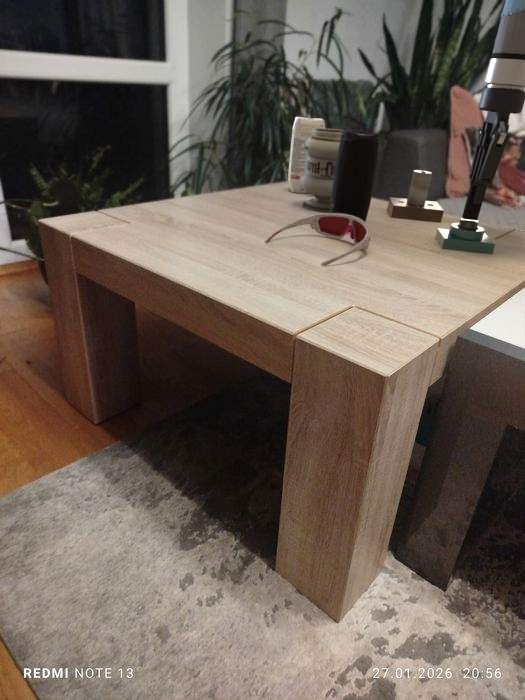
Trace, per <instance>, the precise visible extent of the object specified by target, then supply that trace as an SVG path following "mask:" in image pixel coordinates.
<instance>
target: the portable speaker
mask: <svg viewBox="0 0 525 700" xmlns="http://www.w3.org/2000/svg"><path fill="white" fill-rule="evenodd" d="M342 130H343V131H342V135H341V140H340V144H339V149H338V153H337V159H336V165H335V172H334V179H333V186H332V193H331V208H330V212H329V213H341V214H348V215H352V216H355V217H358V218H360V219H362V220H363V221H365V222H366V223H367V219H368V215H369V210H370V206H371V203H372V197H373V191H374V187H375V186H374V185H375V180H376V174H377V168H378V161H379V150H380V149H379V147H380V140H381V133H380V132H376V133H375V132H374V133H372V132H368V131H367V130H364V129H353V128H352V129H349V130H346V129H342ZM350 231H351V229H350V230H349V231H348V232H350Z"/></svg>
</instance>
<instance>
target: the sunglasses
mask: <svg viewBox="0 0 525 700" xmlns="http://www.w3.org/2000/svg"><path fill="white" fill-rule="evenodd" d="M305 225H309V226H310V228H311V229H312V230H314V231H315V232H316V233H317V234H319V235H322V236H325V237H328V238H330V239H331V238H332V239H335V240H340V239H342V238H344V237H345V236H347V235H346V234H348V233H350V234H349V235H350V236H349V237H350V239H351V240H353V245H354V246H353V247H351V248H349V249H348V250H346V251H345V252H343V253H340V254H339V255H336V256H335V257H332V258H330V259H327V260H323V261H322V262H321V263H320V265H321V266H323V267H326V266H328V265H330V264H332V263H335V262H337V261H339V260H341V259H343V258H345V257H347V256H349V255H351V254H354V253H356V252H358V251H360V250H366V251H367V250H368V249H369V246H370V242H371V237H372V236H371V234H372V233H371V227H370V226H369V224H368V223H367V221H366V222H365V221H363V220H362V219H360V218H358V217H355V216H352V215H348V214H341V213H330V212H324V213H323V212H322V213H317V214H312V215H308V216H305V217H301V218H299V219H296V220H294V221H292V222H289V223H288V224H286V225H284V226H283V227H280V228H279V229H276V230H275V231H274V232H272V233H271V234H270V235H269V236H267V238H266V239H264V243H265V244H268V243H270V241H271V240H272V239H273V238H274V237H275V236H277V235H278V234H280V233H282V232H284V231H286V230H289V229H292V228H296V227H299V226H300V227H301V226H305ZM350 229H351V231H349V230H350Z"/></svg>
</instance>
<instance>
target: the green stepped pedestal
mask: <svg viewBox="0 0 525 700" xmlns="http://www.w3.org/2000/svg"><path fill="white" fill-rule="evenodd" d="M458 226H459V222H452V223H451V224H450V226H449V229H448V228H441V227H440V228H438V227H437V228H436V232H435V236H434V239H435V241H436V242H437V244H438V245H439V247H440V249H442V250H448V251H457V252H458V251H459V252H466V253H467V252H468V253H474V254H475V253H477V254H487V255H493V254H494V250H495V246H496V243H495V242H494V241H493V239H491V238H490V237H489V235H487V233H486V232H485V231H486V229H485V228H484V227H482V226H479V225H478V227H477V230H467V229H463V228H460V227H458Z"/></svg>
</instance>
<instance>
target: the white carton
mask: <svg viewBox="0 0 525 700" xmlns="http://www.w3.org/2000/svg"><path fill="white" fill-rule="evenodd" d="M317 128H325V129H326V121H325V120H324V119H323V118H320V117H319V118H317V117H316V118H315V117H313V118H312V117H303V116H295V117H294V121H293V125H292V131H291V141H290V142H291V143H290V152H289V163H288V172H287V173H288V176H287V181H288V186H289V189H290V192H291V193H298V194H299V193H300V194H308V193H307V192H306V191H304V190H303V188H302V187H301V183H300V182H301V178H302V177H303V176H304V175H305V174H306V171H307V162H308V153H307V152H306V151H305V149H304V145H305V142H306V141H307V140H308V139H309V138H311V135H312V132H313V129H317Z"/></svg>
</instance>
